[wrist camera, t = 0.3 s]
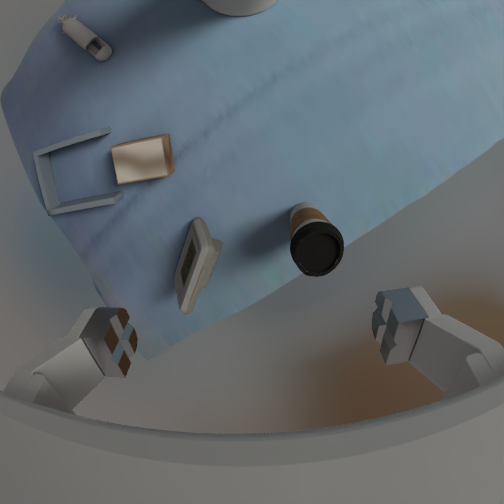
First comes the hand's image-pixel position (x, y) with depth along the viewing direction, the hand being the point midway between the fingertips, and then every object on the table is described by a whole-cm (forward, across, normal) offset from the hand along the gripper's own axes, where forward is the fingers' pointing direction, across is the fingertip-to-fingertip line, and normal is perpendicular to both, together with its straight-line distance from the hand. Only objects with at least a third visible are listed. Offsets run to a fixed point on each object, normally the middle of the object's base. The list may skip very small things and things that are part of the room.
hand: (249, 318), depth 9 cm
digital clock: (+46, +14, +21) cm, 52 cm away
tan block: (+45, +20, 0) cm, 49 cm away
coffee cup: (+46, -8, +15) cm, 49 cm away
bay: (+45, +36, 0) cm, 58 cm away
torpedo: (+46, +30, -28) cm, 61 cm away
